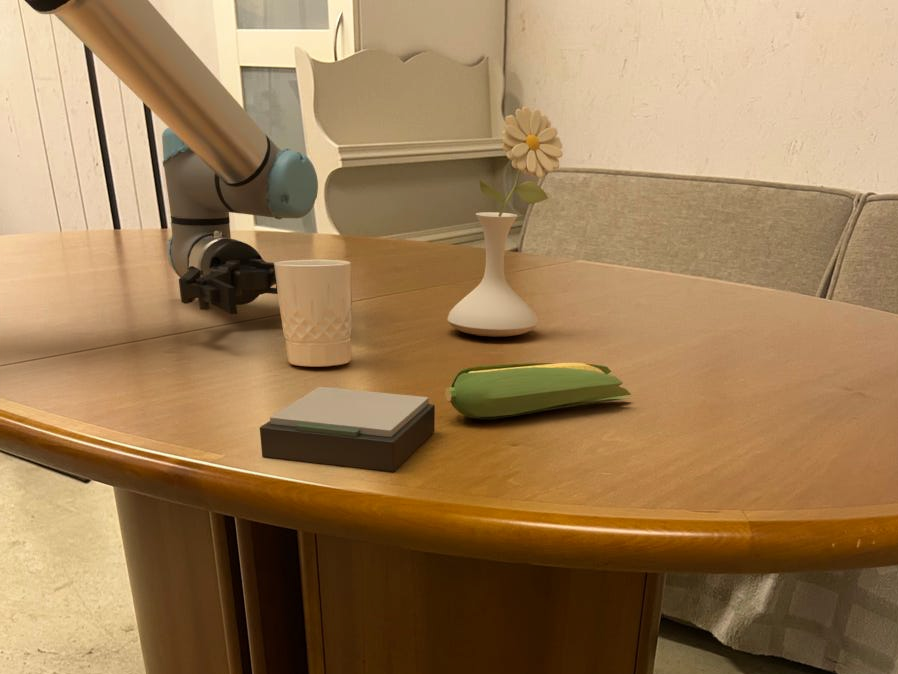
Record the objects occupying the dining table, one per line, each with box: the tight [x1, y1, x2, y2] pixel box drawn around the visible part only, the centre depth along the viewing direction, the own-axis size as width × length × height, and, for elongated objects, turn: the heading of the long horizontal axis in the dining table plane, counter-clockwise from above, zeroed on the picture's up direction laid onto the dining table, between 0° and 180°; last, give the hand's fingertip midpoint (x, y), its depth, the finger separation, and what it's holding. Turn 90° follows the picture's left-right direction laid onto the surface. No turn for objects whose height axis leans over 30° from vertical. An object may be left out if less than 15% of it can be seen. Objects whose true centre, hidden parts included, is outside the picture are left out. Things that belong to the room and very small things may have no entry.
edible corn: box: [444, 362, 632, 421], centre depth 86 cm, size 5×20×5 cm, turn 118°
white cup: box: [273, 259, 353, 368], centre depth 98 cm, size 8×8×10 cm
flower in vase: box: [446, 106, 563, 338], centre depth 111 cm, size 13×11×25 cm
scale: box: [259, 386, 436, 473], centre depth 76 cm, size 11×11×3 cm
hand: (292, 296), depth 102 cm, fingers open, 13 cm apart
